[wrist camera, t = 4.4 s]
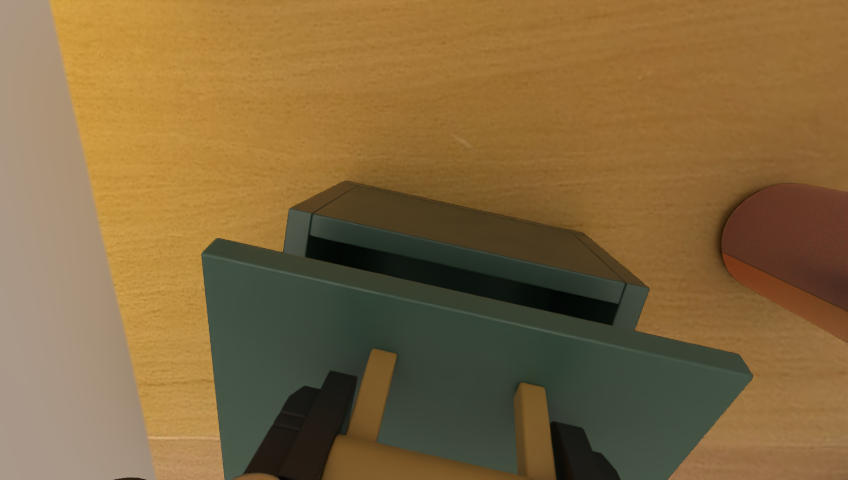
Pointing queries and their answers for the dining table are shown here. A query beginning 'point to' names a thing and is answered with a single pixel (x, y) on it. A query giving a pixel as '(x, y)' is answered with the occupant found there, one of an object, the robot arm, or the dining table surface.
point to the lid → (447, 374)
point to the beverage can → (794, 251)
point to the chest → (465, 252)
